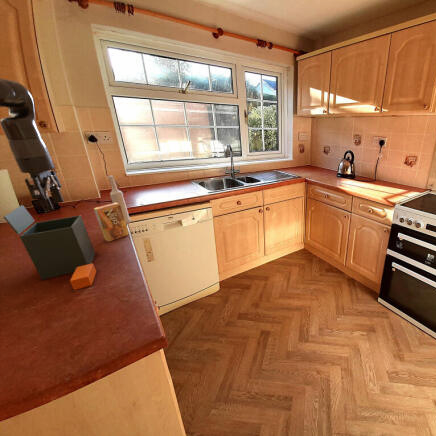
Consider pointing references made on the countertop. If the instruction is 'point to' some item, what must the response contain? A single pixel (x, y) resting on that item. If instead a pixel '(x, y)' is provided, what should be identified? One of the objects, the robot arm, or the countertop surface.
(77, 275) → the orange rectangular block
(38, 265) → the dark green open box
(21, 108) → the robot arm
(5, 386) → the countertop surface
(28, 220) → the flap
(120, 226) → the candy box
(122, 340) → the countertop surface
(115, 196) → the bottle
